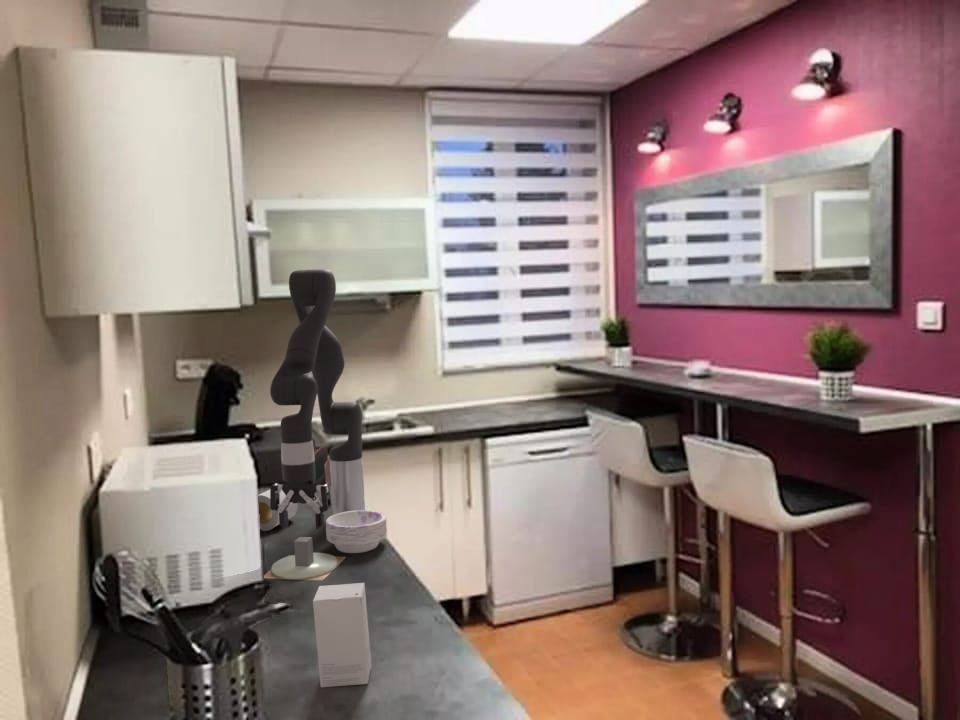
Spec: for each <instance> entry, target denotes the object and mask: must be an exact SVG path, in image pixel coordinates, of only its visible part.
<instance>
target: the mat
mask: <svg viewBox="0 0 960 720" xmlns="http://www.w3.org/2000/svg"><path fill="white" fill-rule="evenodd" d="M292 555H293V554H288V555H287V556H286V557H288V556H292ZM335 557H336V559H337V567H338V566H339V565H340V564H341V563H342V562H343V561H344V560H345V559H346V558H347V557H346V556H335ZM333 571H334V570H332V571H331V572H329V573H327V574H324V575H321V576H318V577H313V578H307V579H290V581H291V580H292V581H293V580H296V581H297V580H298V581H319V582H320V581H321V582H322V581H324V580H325V579H326V578H327V577H328V576H329V575H330V574H331V573H332V572H333ZM263 576H264V578H263V579H271V580H284V579H283V578H279V577H276V576H275V575H273V574H272V568H271V569H269V570H268V571H267V572H266V573H265V574H263Z"/></svg>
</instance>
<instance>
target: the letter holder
mask: <svg viewBox="0 0 960 720" xmlns="http://www.w3.org/2000/svg"><path fill="white" fill-rule="evenodd" d="M312 440H313V446H314V457H315V475H316V479H315V481H316V484H317V485H324V484H326V483H327V484H329V486H331V474H330V457H329V456H328V455H329V453H328V446H327V445H323V446H320V447H318V448H317V449H316V439H315V437H312Z"/></svg>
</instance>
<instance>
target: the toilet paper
mask: <svg viewBox="0 0 960 720" xmlns="http://www.w3.org/2000/svg"><path fill="white" fill-rule="evenodd" d="M285 497H286V495H285V493H284V492H283V491H282V490H281V492H280V504H282V501H283V500H284V498H285ZM258 503H259V514H260V527H261V530H260V531H262V532H264V531H265V532H267V531H271V530H272V529H274V528H275V527H277V526H280V523H279V512H278V511H276V510H271V508H270V489H268V490H266V491H263V492H262V493H260V494H259V493H258ZM298 509H299V503H292V502H291V503H290V505H289V506H288V507H287V509H286V511H288V521H289V520H290V519H292V518H294V517H295V516H296V513H297V512H298Z"/></svg>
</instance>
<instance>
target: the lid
mask: <svg viewBox="0 0 960 720" xmlns="http://www.w3.org/2000/svg"><path fill="white" fill-rule="evenodd" d="M293 546H294V547H293V548H294V554H291V555H292V556H288V555H287V556H288V557H287V556H286V557H282V558H280V559H279V560H276V561H275V562H274V563H273V564H272V565H271V569H272V574H273V575H275V576H276V577H279V578H283V579H282V580H291V579H307V578H313V577H318V576H321V575H324V574H327V573H329V572H331V571H332V570H333V571H334V570H335V569H336V568H337V567H338V566H337V559H336V557H337V556H335V555H332V554H329V553H324V552H314V543H313V536H312V537H311V536H298V538H296V539H295V540H294V541H293ZM333 571H332V572H333ZM332 572H331V573H332Z"/></svg>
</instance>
